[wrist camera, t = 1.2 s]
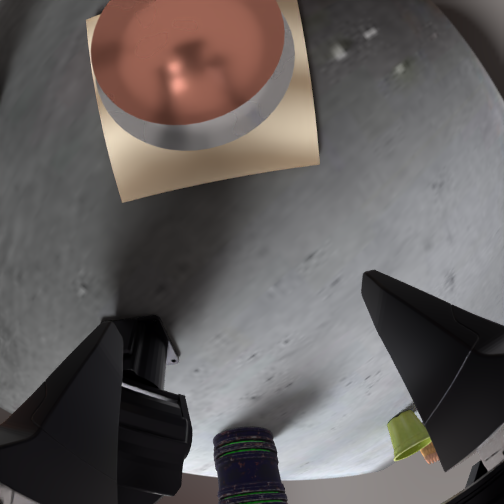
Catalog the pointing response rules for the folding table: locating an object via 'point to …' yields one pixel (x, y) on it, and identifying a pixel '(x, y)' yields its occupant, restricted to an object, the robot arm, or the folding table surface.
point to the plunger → (191, 68)
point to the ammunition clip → (429, 453)
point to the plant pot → (407, 435)
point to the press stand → (230, 154)
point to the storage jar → (248, 467)
